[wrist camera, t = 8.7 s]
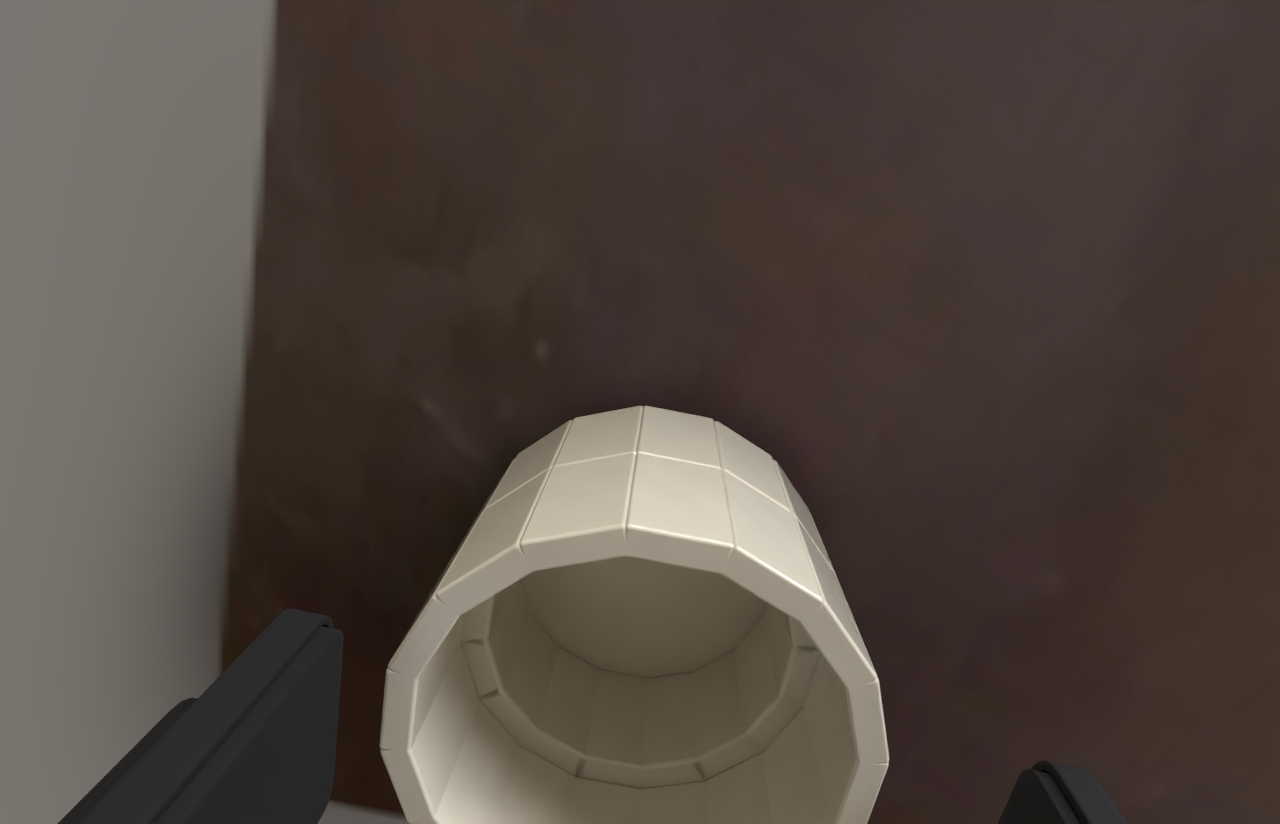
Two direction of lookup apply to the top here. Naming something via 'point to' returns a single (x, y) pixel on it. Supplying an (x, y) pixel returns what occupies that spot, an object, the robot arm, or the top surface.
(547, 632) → the cup
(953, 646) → the top surface
